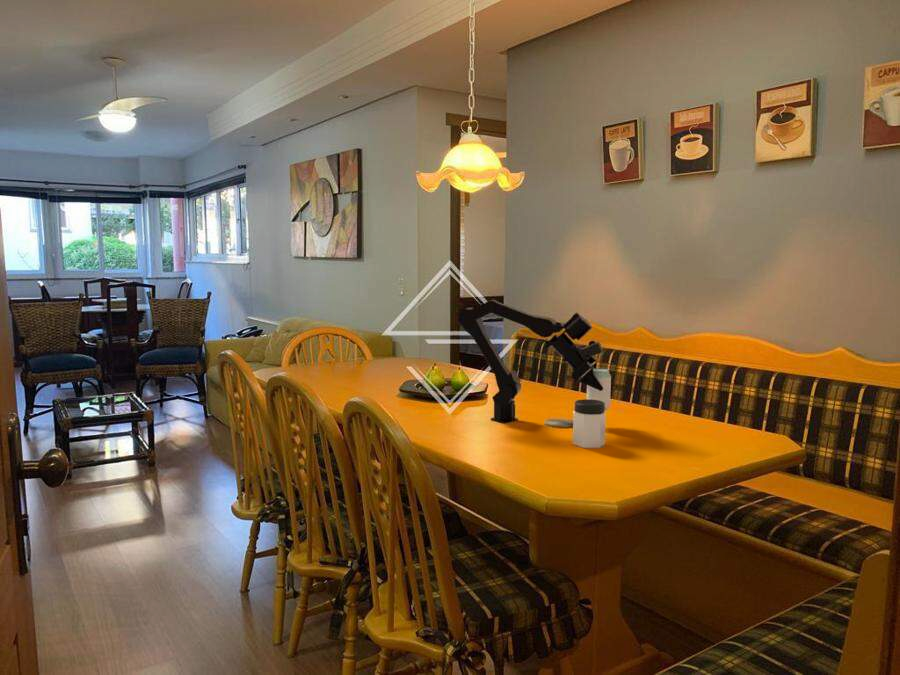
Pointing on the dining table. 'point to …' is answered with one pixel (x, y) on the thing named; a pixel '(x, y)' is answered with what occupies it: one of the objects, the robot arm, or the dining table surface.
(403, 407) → the dining table surface
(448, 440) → the dining table surface
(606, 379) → the can
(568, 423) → the coaster
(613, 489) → the dining table surface
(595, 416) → the jar
